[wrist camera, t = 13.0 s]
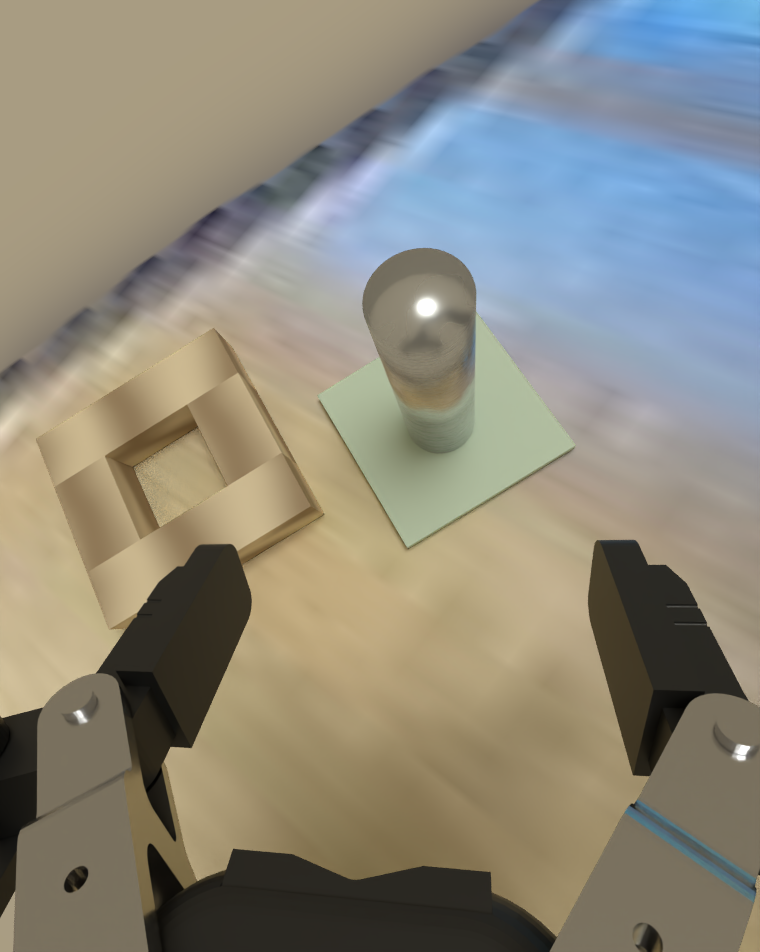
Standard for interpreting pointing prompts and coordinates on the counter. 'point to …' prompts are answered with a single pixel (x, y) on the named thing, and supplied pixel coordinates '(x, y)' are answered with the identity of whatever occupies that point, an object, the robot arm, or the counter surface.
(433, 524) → the mat
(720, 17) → the counter surface
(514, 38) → the counter surface
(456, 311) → the peg
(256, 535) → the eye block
